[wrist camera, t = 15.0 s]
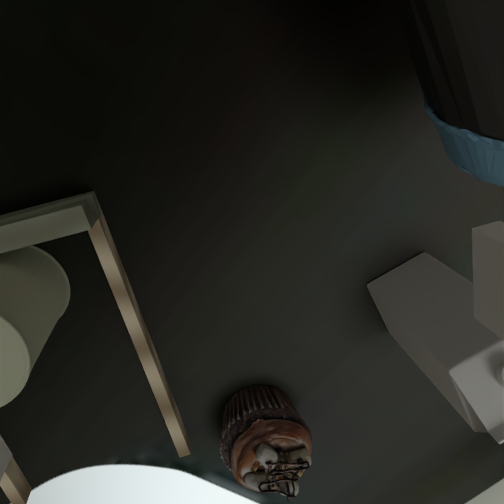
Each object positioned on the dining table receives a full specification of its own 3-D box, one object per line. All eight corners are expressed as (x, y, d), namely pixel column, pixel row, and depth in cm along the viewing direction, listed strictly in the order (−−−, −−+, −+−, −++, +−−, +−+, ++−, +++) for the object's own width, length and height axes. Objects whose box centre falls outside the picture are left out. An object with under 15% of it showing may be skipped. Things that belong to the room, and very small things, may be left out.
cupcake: (219, 377, 46) (229, 450, 37) (304, 377, 48) (334, 446, 38) (211, 446, 49) (219, 528, 40) (291, 443, 51) (316, 521, 42)
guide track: (-133, 249, 35) (-180, 273, 31) (94, 190, 37) (81, 205, 32) (21, 491, 47) (3, 535, 42) (190, 440, 48) (191, 477, 44)
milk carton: (444, 301, 47) (601, 426, 29) (388, 332, 47) (511, 474, 30) (424, 250, 44) (584, 355, 27) (364, 283, 44) (485, 409, 27)
